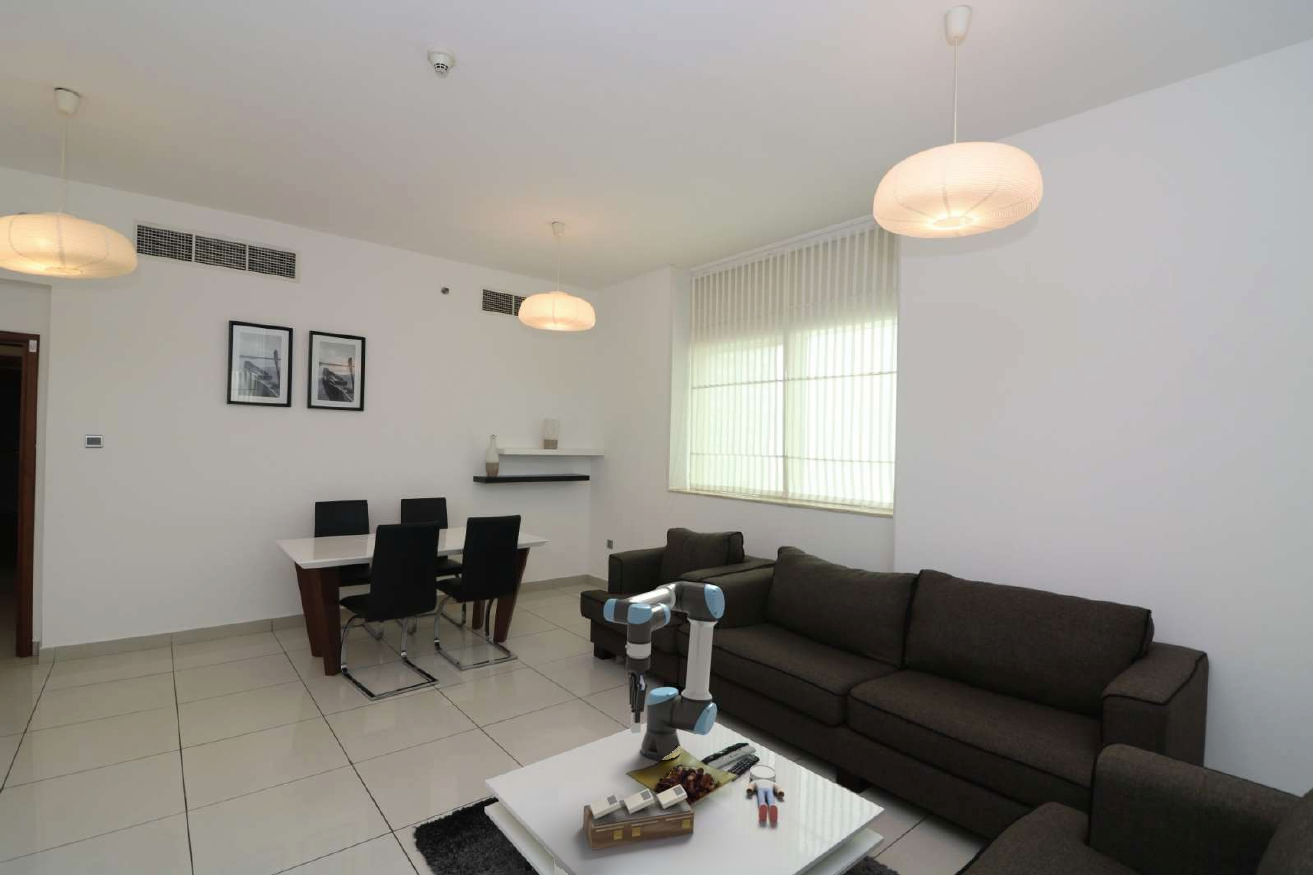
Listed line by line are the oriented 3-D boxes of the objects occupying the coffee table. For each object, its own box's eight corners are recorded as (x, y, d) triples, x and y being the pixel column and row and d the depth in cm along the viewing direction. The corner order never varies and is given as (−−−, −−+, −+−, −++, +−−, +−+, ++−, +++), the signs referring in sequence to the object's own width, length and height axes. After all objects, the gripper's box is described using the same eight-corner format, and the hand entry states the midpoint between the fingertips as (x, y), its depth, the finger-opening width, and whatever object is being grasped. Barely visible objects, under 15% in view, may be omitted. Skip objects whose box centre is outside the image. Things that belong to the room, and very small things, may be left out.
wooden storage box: (583, 826, 187) (584, 801, 187) (679, 811, 196) (680, 788, 197) (592, 850, 175) (593, 824, 175) (693, 833, 185) (694, 809, 185)
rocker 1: (590, 808, 184) (589, 804, 184) (615, 797, 187) (614, 792, 187) (595, 819, 179) (593, 814, 179) (620, 807, 181) (619, 802, 181)
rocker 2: (657, 799, 191) (656, 794, 191) (680, 788, 193) (679, 783, 193) (663, 809, 186) (662, 804, 186) (687, 797, 188) (686, 793, 188)
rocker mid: (624, 804, 188) (623, 799, 188) (649, 792, 190) (647, 788, 190) (629, 814, 182) (628, 809, 182) (654, 802, 185) (653, 797, 185)
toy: (789, 806, 192) (780, 758, 222) (748, 802, 194) (744, 755, 224) (788, 825, 192) (779, 774, 222) (747, 821, 194) (744, 771, 224)
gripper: (621, 649, 199) (618, 724, 198) (632, 662, 186) (629, 742, 185) (643, 648, 201) (640, 722, 200) (656, 660, 189) (653, 739, 188)
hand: (635, 731), depth 193 cm, fingers closed
